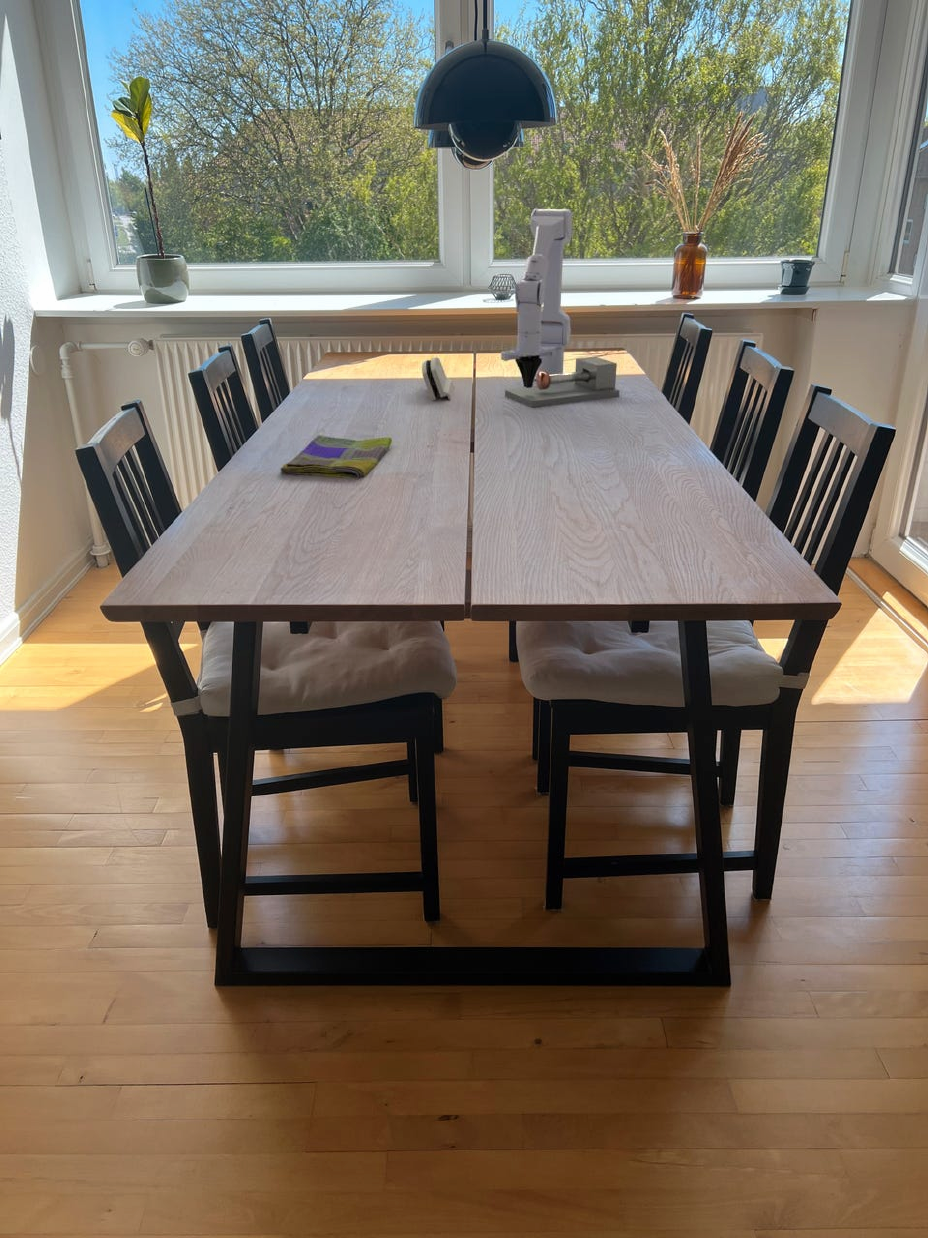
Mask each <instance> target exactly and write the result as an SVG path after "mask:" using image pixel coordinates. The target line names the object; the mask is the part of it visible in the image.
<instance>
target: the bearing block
mask: <svg viewBox="0 0 928 1238" xmlns="http://www.w3.org/2000/svg"><path fill="white" fill-rule="evenodd" d="M617 365H618V363H617V362H613V361H611V360H607V359H605V358H601V357H598V356H587V357H579V358H575V371H574V372H581V371H589V380H585V381H577V382H575V384H578V385H580V386H583V387H586V388H588V389H591V390H594V391H601V390H609V389H616V382H617V380H616V379H617Z"/></svg>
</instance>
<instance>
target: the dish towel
mask: <svg viewBox="0 0 928 1238" xmlns="http://www.w3.org/2000/svg"><path fill="white" fill-rule="evenodd" d="M392 441H393V439H392V438H391V437H388V436H387V437H378V438H369V439H365V440H364V439H363V440H355V439H348V438H341V437H340V438H338V437H330V436H324V435H322V434H319V435H317V436H316V437H315V438H313V440H311V441H310V443H309V444H308V445H307V446H306V447H305V448H304V449H303V450H301V451H299V453H298V454H297V455H296V456H295V457H294V458H292V460H290V461H289V462H288V463H285V464H283V466H282V467H281V468H280V472H283V473H286V474H293V473H300V474H299V475H306V474H312V475H311V476H320V475H323V476H324V477H331V478H333V477H335V478H336V477H337V478H343V479H344V478H345V479H361V478H365V476H366V475H368V474H369V473H370V472H371V471H372V470H374V468H375V467H376V466H377V465H378V464H379V462H380V461H382V459H383V457H384V456H385V455H386V453H387V451H388V450H389V448H390V446H391V444H392Z"/></svg>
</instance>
